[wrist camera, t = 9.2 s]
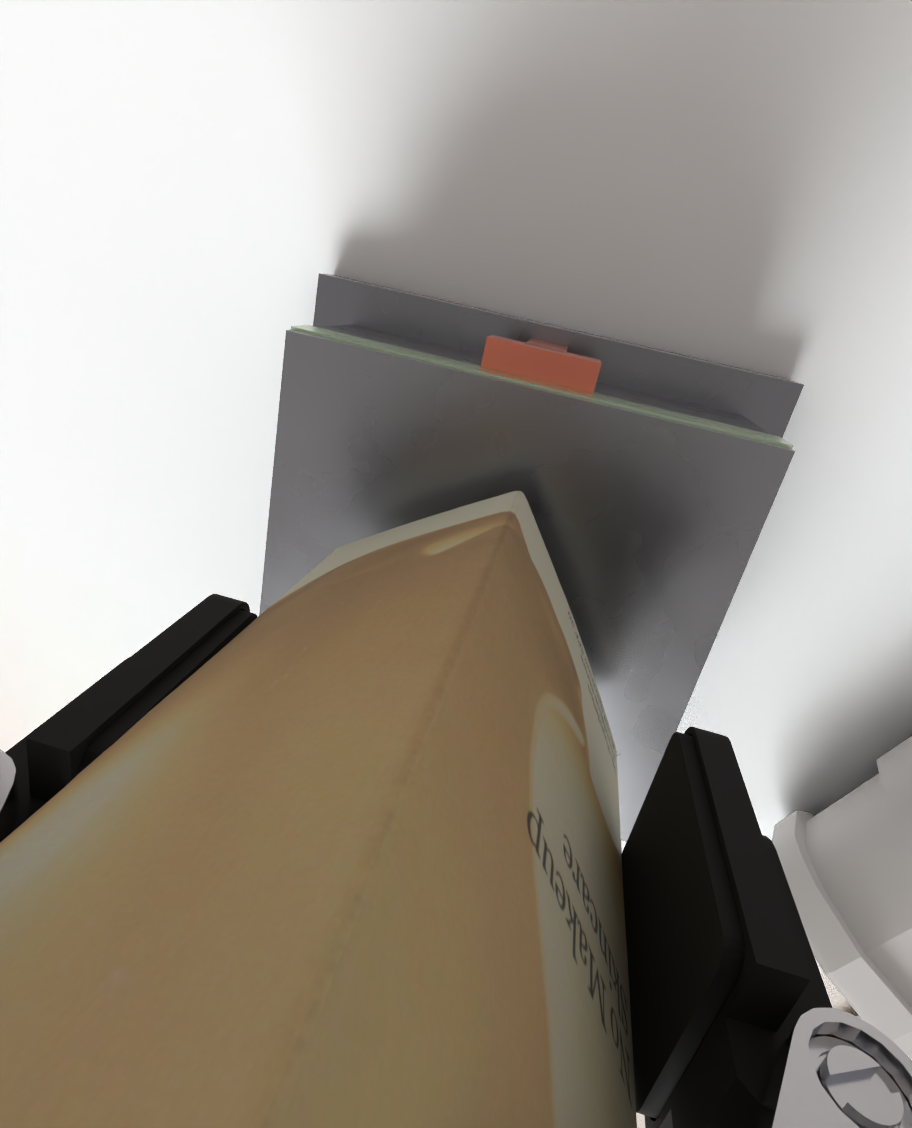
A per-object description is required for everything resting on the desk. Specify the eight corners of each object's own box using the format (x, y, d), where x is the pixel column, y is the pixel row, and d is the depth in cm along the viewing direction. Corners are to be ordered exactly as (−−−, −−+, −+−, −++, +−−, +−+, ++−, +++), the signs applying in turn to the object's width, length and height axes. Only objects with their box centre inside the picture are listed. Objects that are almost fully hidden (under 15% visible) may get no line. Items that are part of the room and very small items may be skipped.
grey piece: (791, 379, 16) (874, 410, 12) (639, 755, 21) (655, 882, 16) (333, 274, 17) (242, 264, 13) (287, 656, 22) (210, 749, 17)
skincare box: (622, 749, 14) (798, 2693, 3) (436, 786, 15) (6, 2193, 4) (521, 466, 12) (-421, 2869, 1) (319, 535, 13) (-1160, 1815, 2)
